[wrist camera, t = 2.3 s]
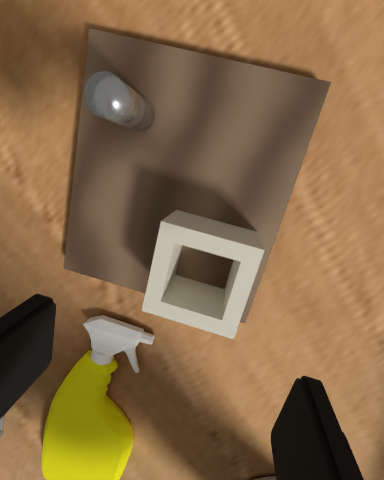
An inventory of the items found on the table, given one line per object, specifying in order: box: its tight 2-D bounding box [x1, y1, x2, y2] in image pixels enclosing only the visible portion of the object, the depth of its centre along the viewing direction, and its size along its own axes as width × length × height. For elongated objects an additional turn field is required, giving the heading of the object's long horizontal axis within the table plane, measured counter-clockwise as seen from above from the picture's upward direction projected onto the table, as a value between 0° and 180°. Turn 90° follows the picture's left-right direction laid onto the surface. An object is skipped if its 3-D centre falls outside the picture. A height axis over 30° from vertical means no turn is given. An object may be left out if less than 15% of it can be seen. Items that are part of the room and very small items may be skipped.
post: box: [85, 71, 155, 132], centre depth 18 cm, size 2×2×6 cm
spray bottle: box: [41, 315, 155, 480], centre depth 30 cm, size 3×11×24 cm
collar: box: [142, 210, 265, 339], centre depth 20 cm, size 7×7×5 cm
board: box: [64, 28, 331, 323], centre depth 22 cm, size 18×20×2 cm
